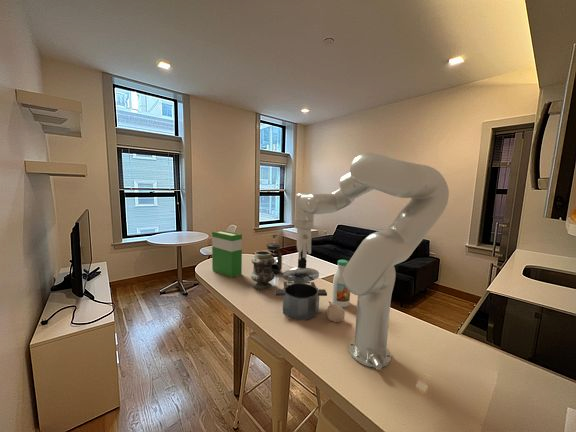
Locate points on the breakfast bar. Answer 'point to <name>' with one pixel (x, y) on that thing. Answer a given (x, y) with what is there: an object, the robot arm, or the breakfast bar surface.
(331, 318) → the garlic bulb
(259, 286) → the grey rounded vessel
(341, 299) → the milk bottle
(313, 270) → the cooker lid
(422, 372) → the breakfast bar surface
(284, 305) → the cooker pot
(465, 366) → the breakfast bar surface
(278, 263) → the french press
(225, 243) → the green tissue carton
